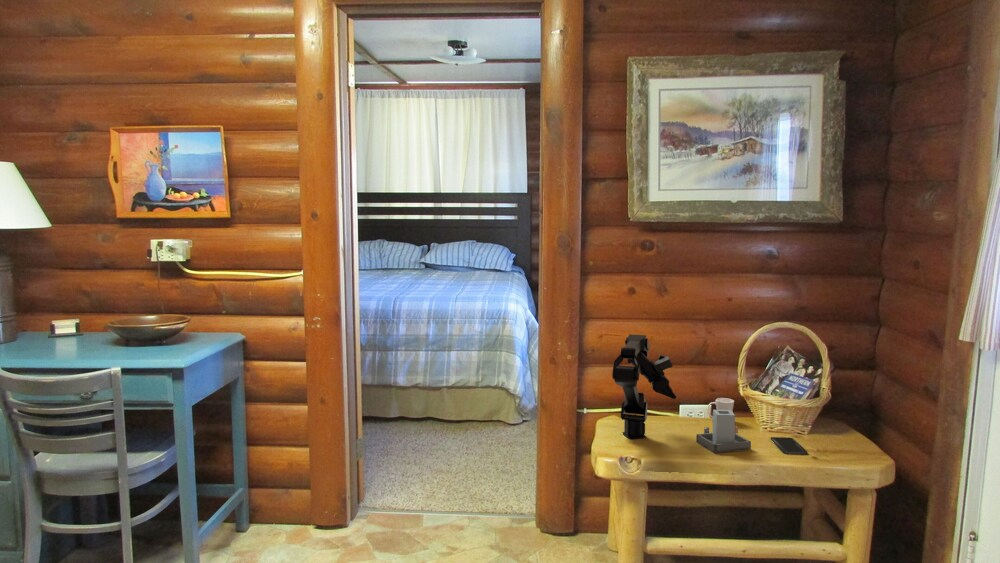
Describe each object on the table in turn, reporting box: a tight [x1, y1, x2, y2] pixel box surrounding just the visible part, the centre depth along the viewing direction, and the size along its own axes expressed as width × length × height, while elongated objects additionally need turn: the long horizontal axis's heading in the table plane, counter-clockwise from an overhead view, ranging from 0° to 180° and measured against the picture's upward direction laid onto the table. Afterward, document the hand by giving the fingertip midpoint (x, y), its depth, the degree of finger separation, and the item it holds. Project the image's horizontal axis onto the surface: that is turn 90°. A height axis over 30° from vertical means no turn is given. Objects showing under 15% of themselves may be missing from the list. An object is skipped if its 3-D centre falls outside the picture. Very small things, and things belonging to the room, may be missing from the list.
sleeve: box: [712, 409, 739, 444], centre depth 223 cm, size 8×6×11 cm
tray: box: [695, 432, 752, 454], centre depth 223 cm, size 14×12×3 cm
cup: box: [706, 397, 735, 419], centre depth 251 cm, size 7×10×8 cm
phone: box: [770, 436, 808, 456], centre depth 222 cm, size 8×1×15 cm
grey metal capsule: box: [703, 426, 710, 434], centre depth 234 cm, size 2×2×3 cm
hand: (673, 394), depth 239 cm, fingers open, 9 cm apart
